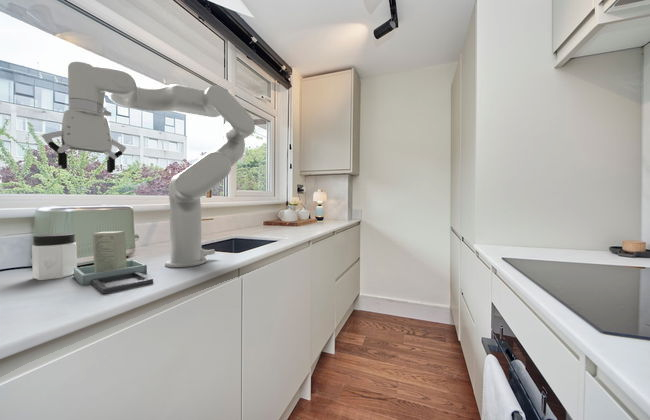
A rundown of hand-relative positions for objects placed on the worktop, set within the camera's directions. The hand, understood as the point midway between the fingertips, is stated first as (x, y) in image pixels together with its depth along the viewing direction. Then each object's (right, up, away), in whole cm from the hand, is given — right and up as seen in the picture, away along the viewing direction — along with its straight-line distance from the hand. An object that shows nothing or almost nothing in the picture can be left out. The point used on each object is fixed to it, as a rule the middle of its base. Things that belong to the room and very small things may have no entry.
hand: (88, 170), depth 72 cm
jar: (-10, -31, +1) cm, 32 cm away
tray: (+5, -30, +2) cm, 31 cm away
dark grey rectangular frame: (+15, -31, -6) cm, 34 cm away
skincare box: (+5, -30, +2) cm, 30 cm away
